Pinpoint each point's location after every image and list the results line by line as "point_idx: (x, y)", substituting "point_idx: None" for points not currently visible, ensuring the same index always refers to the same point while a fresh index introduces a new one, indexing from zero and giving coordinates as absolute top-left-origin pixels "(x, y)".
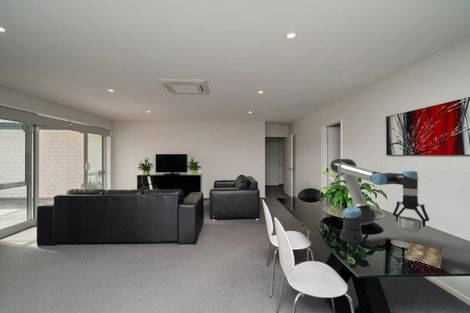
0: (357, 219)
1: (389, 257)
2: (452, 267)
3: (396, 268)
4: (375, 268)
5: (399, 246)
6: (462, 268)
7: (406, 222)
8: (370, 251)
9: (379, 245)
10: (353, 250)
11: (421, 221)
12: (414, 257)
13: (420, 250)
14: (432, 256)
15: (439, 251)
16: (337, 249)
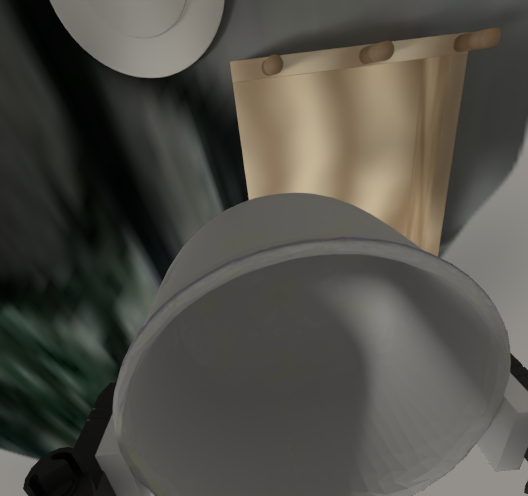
0: None
1: None
2: (466, 170)
3: None
4: None
5: (159, 77)
6: (515, 131)
7: (279, 473)
8: (112, 340)
9: (71, 200)
10: (64, 395)
11: (502, 466)
12: None
13: (309, 74)
14: (383, 118)
15: (447, 83)
16: (25, 441)
